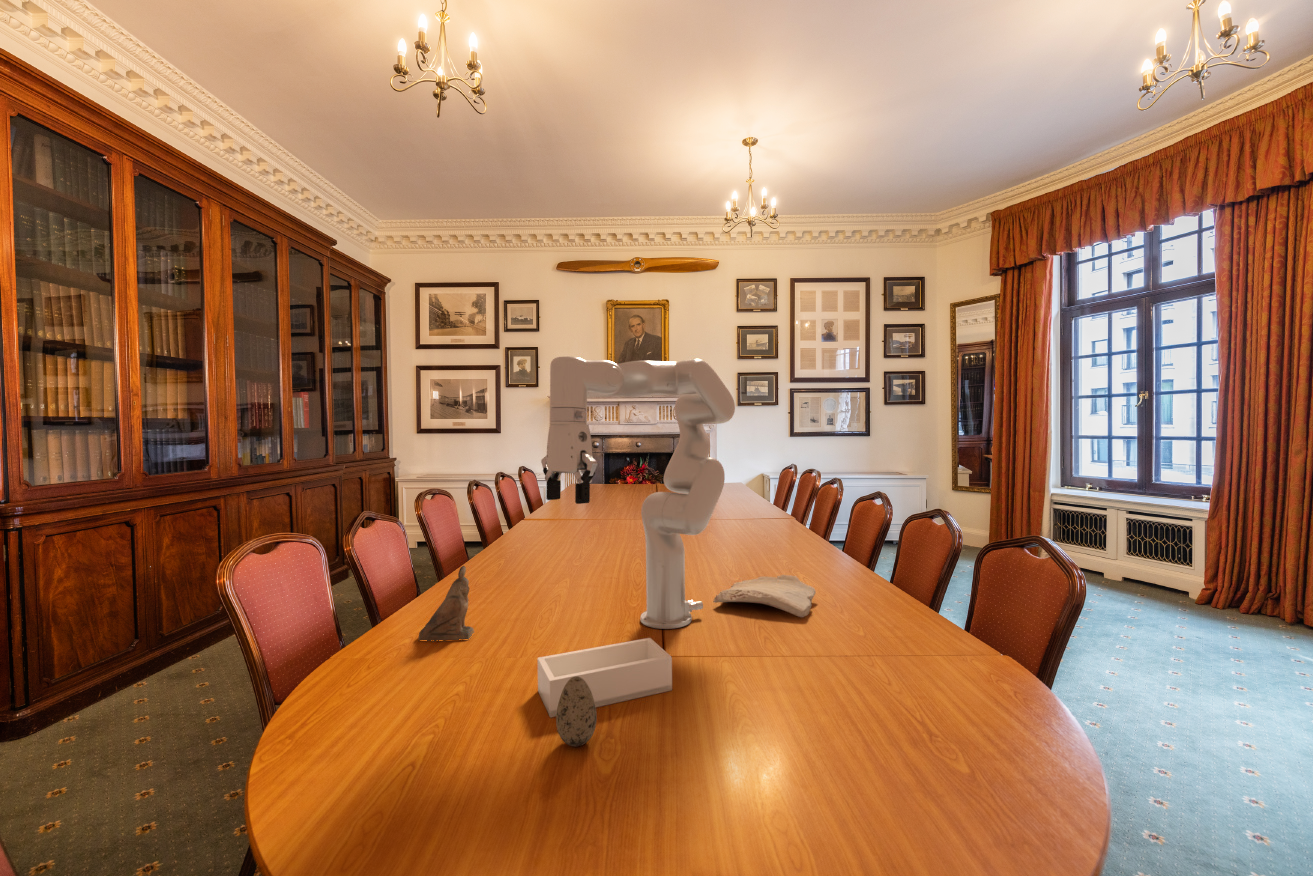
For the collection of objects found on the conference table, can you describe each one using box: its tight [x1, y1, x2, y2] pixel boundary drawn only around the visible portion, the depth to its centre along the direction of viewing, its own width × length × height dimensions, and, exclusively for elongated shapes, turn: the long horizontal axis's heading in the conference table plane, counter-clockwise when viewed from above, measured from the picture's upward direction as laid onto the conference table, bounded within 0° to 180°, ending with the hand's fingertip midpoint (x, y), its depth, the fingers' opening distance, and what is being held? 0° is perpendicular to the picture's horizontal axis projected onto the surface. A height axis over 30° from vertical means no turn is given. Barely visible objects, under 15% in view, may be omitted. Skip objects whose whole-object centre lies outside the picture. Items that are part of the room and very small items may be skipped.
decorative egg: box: [555, 676, 598, 747], centre depth 80 cm, size 6×6×10 cm
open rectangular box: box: [537, 637, 673, 718], centre depth 96 cm, size 22×10×6 cm, turn 114°
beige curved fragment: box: [713, 574, 816, 618], centre depth 144 cm, size 24×8×20 cm
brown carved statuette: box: [418, 565, 475, 642], centre depth 123 cm, size 12×6×18 cm, turn 87°
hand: (567, 501), depth 109 cm, fingers open, 9 cm apart
